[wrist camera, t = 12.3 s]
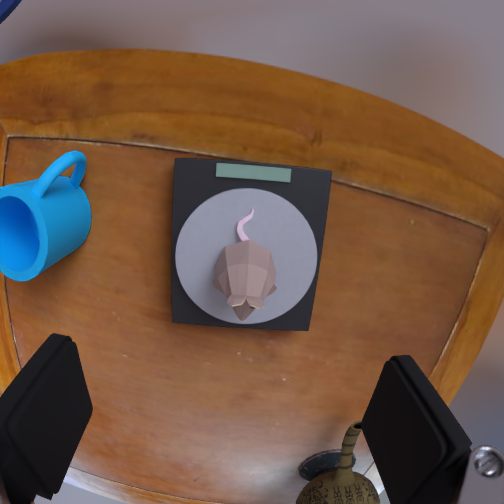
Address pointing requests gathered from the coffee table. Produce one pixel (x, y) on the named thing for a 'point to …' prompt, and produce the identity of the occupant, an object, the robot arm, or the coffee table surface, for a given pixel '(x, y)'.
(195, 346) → the coffee table surface
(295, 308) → the kitchen scale
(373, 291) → the coffee table surface
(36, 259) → the mug
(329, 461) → the teapot
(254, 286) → the mouse figurine
